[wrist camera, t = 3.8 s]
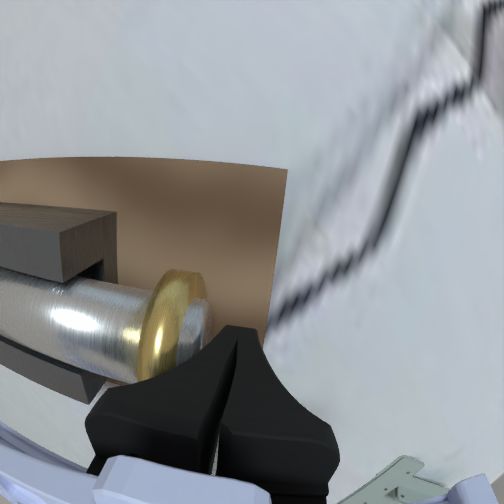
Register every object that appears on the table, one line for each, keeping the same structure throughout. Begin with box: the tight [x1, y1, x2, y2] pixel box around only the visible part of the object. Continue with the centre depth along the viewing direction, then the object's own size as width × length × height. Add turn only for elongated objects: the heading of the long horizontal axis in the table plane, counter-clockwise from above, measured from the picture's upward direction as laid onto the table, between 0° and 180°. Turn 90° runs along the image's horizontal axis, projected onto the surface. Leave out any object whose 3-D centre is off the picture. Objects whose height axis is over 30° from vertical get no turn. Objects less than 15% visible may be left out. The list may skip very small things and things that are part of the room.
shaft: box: [0, 267, 212, 384], centre depth 12 cm, size 6×16×6 cm, turn 84°
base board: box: [0, 157, 288, 386], centre depth 16 cm, size 14×24×1 cm, turn 84°
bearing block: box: [0, 202, 118, 405], centre depth 13 cm, size 9×10×5 cm
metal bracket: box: [337, 455, 450, 504], centre depth 21 cm, size 14×6×15 cm
